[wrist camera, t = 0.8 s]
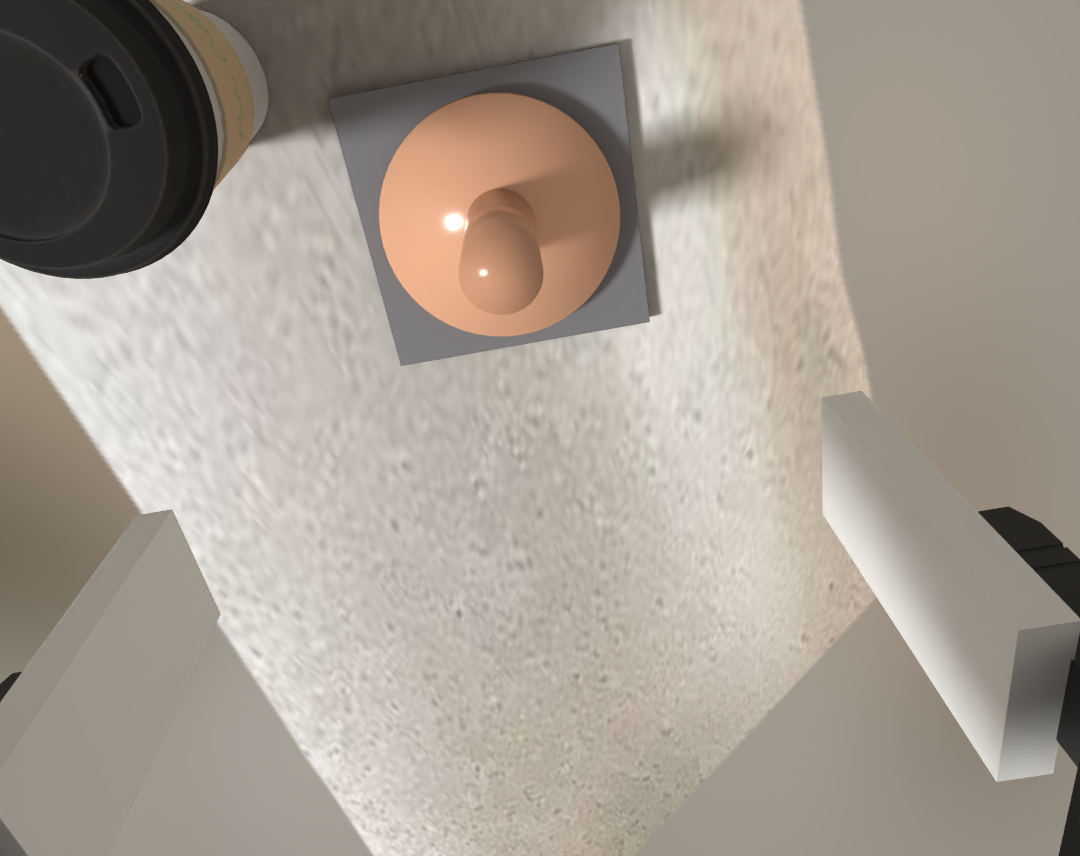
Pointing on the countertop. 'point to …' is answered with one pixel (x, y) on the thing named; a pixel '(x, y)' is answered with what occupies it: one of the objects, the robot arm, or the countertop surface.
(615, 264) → the mat
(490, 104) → the lid
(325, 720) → the countertop surface
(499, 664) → the countertop surface
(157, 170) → the coffee cup
